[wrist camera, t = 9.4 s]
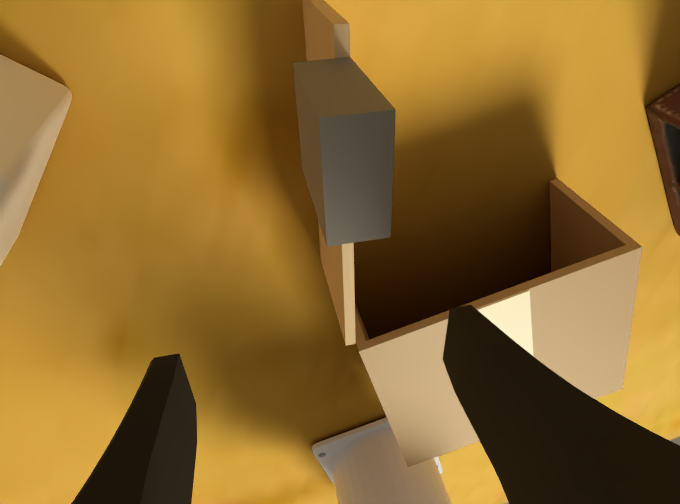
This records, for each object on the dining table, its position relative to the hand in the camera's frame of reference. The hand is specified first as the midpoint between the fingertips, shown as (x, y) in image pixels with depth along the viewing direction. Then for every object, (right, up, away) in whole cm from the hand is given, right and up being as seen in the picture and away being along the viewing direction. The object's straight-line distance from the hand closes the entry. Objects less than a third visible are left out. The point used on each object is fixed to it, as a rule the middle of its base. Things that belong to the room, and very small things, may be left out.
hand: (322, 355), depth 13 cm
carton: (+7, +1, +14) cm, 16 cm away
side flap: (-1, +7, +7) cm, 10 cm away
